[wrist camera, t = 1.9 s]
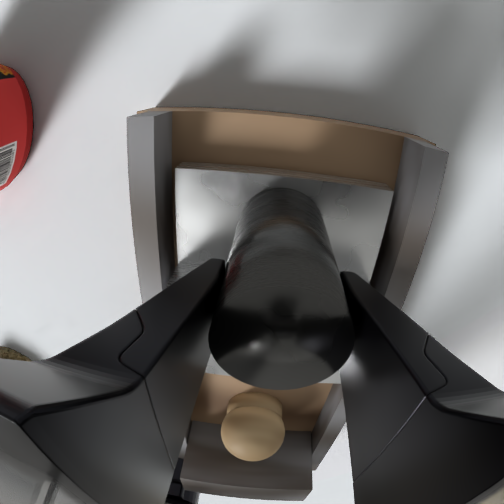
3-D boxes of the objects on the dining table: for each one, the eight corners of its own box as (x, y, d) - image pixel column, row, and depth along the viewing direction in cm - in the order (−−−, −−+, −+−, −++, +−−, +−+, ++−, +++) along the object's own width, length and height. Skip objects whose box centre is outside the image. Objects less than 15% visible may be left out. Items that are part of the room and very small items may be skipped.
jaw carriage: (348, 320, 15) (374, 446, 9) (186, 305, 15) (143, 428, 9) (385, 183, 12) (474, 284, 6) (182, 162, 12) (91, 247, 6)
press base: (319, 431, 24) (322, 501, 18) (181, 418, 25) (164, 487, 19) (417, 135, 13) (508, 182, 7) (154, 107, 13) (64, 133, 7)
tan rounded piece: (280, 423, 21) (279, 471, 17) (224, 418, 21) (217, 466, 17) (289, 392, 19) (289, 447, 15) (225, 386, 19) (216, 441, 15)
